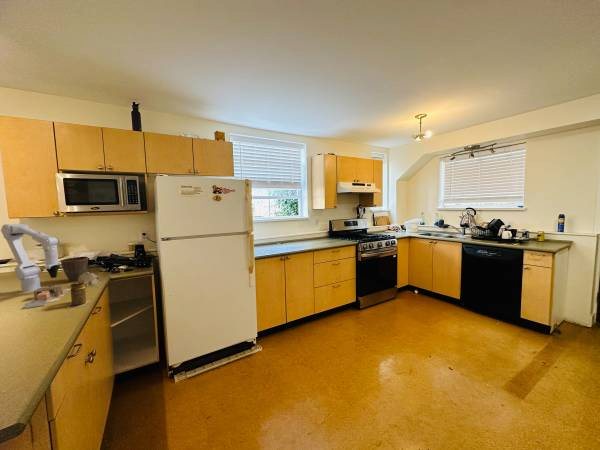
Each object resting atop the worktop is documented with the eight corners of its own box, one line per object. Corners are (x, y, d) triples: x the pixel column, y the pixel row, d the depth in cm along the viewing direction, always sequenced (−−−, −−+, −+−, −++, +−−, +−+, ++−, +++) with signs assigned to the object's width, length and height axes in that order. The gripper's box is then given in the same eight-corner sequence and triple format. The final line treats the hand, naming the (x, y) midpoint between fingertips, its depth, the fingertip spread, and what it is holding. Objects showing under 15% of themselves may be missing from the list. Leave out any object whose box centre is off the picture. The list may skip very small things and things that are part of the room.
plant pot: (93, 279, 183) (91, 257, 182) (66, 285, 171) (64, 262, 169) (85, 276, 191) (83, 255, 190) (59, 281, 179) (57, 259, 177)
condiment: (89, 300, 142) (87, 280, 141) (84, 306, 135) (82, 284, 134) (72, 303, 139) (70, 282, 138) (66, 308, 131) (64, 286, 130)
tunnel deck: (43, 293, 155) (42, 284, 155) (72, 289, 162) (71, 280, 161) (21, 308, 132) (19, 297, 132) (56, 303, 139) (55, 293, 138)
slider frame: (44, 294, 150) (44, 286, 149) (60, 292, 153) (59, 284, 153) (25, 308, 130) (24, 298, 129) (44, 305, 133) (43, 296, 133)
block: (40, 299, 142) (40, 293, 141) (50, 298, 143) (49, 291, 143) (37, 302, 138) (36, 295, 138) (47, 301, 140) (46, 294, 140)
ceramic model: (105, 283, 172) (104, 269, 172) (90, 289, 161) (89, 274, 160) (86, 283, 174) (85, 269, 173) (70, 289, 163) (69, 274, 162)
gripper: (55, 257, 150) (57, 279, 152) (64, 253, 163) (66, 273, 164) (39, 259, 147) (41, 281, 148) (49, 254, 160) (52, 275, 161)
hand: (53, 277), depth 156 cm, fingers closed
